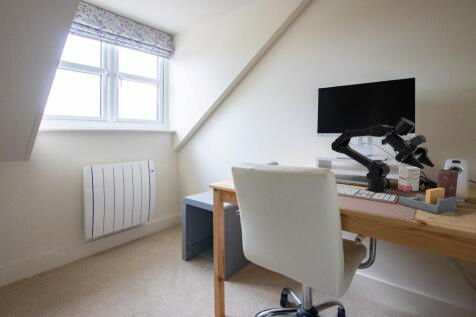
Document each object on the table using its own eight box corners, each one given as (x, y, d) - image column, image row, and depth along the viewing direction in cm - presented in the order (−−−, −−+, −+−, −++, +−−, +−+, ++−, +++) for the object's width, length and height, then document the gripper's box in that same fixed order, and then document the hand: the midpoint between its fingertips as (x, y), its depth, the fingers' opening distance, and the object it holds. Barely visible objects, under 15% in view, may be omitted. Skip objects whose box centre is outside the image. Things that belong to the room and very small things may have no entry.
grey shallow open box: (398, 204, 104) (399, 192, 103) (417, 200, 109) (418, 189, 108) (436, 214, 91) (438, 200, 91) (456, 210, 96) (457, 197, 96)
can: (459, 207, 100) (462, 171, 98) (441, 206, 101) (444, 171, 100) (449, 202, 106) (452, 169, 104) (432, 201, 107) (435, 169, 106)
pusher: (424, 207, 96) (426, 189, 96) (438, 205, 100) (440, 187, 99) (432, 209, 94) (433, 191, 93) (446, 206, 98) (447, 188, 97)
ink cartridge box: (407, 192, 124) (409, 162, 123) (397, 189, 129) (399, 161, 127) (419, 190, 127) (421, 161, 126) (409, 188, 132) (411, 160, 130)
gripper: (400, 129, 107) (433, 154, 97) (421, 129, 117) (453, 152, 107) (383, 149, 113) (412, 174, 104) (404, 148, 123) (432, 170, 114)
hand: (428, 167), depth 107 cm, fingers open, 9 cm apart
